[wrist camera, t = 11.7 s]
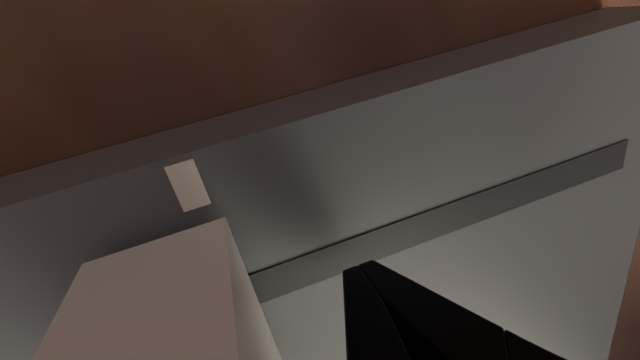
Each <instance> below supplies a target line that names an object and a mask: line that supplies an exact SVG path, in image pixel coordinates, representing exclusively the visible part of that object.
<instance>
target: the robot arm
mask: <svg viewBox="0 0 640 360" xmlns="http://www.w3.org/2000/svg"><path fill="white" fill-rule="evenodd" d="M342 276H343V297H344V318H345V339H346V360H567V359H565V358H563V357H560V356H558V355H556V354H554V353H552V352H550V351H548V350H546V349H544V348H542V347H540V346H538V345H536V344H534V343H532V342H530V341H528V340H526V339H524V338H522V337H520V336H518V335H516V334H514V333H512V332H510V331H508V330H505V331H504V329H503V328H502V327H500V326H499V325H497V324H495V323H493V322H491V321H489V320H487V319H485V318H483V317H481V316H479V315H478V314H476V313H474V312H472V311H470V310H468V309H466V308H464V307H462V306H460V305H458V304H457V303H455V302H453V301H451V300H449V299H447V298H445V297H443V296H441V295H439V294H437V293H436V292H434V291H432V290H430V289H428V288H426V287H424V286H422V285H420V284H418V283H417V282H415V281H413V280H411V279H409V278H407V277H405V276H403V275H401V274H399V273H397V272H396V271H394V270H392V269H390V268H388V267H386V266H384V265H382V264H380V263H378V262H376V261H374V260H370V261H367V262H364V263H361V264H359V265H358V266H353V267H351V268H348V269H345V270H344V271H343V273H342Z"/></svg>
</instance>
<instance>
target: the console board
mask: <svg viewBox="0 0 640 360" xmlns="http://www.w3.org/2000/svg"><path fill="white" fill-rule="evenodd" d="M224 217H226V220H227V222H228V225H229V227H230V230H231V233H232V235H233V238H234V240H235V243H236V245H237V248H238V250H239V253H240V255H241V258H242V260H243V263H244V265H245V268H246V271H247V273H248V276H249V278H250V281H251V283H252V286H253V288H254V291H255V293H256V296H257V298H258V301H259V303H260V306H261V308H262V311H263V314H264V316H265V319H266V321H267V324H268V326H269V329H270V331H271V334H272V336H273V339H274V341H275V344H276V346H277V349H278V352H279V354H280V357H281V359H282V360H346V339H345V318H344V297H343V276H342V273H343V271H344V270H345V269H348V268H351V267H353V266H358V265H359V264H361V263H364V262H367V261H370V260H374V261H376V262H378V263H380V264H382V265H384V266H386V267H388V268H390V269H392V270H394V271H396V272H397V273H399V274H401V275H403V276H405V277H407V278H409V279H411V280H413V281H415V282H417V283H418V284H420V285H422V286H424V287H426V288H428V289H430V290H432V291H434V292H436V293H437V294H439V295H441V296H443V297H445V298H447V299H449V300H451V301H453V302H455V303H457V304H458V305H460V306H462V307H464V308H466V309H468V310H470V311H472V312H474V313H476V314H478V315H479V316H481V317H483V318H485V319H487V320H489V321H491V322H493V323H495V324H497V325H499V326H500V327H502V328H503V329H504V331H505V330H508V331H510V332H512V333H514V334H516V335H518V336H520V337H522V338H524V339H526V340H528V341H530V342H532V343H534V344H536V345H538V346H540V347H542V348H544V349H546V350H548V351H550V352H552V353H554V354H556V355H558V356H560V357H563V358H565V359H567V360H608V356H609V352H610V348H611V343H612V339H613V335H614V331H615V327H616V323H617V319H618V315H619V311H620V307H621V303H622V299H623V294H624V290H625V286H626V282H627V278H628V274H629V270H630V266H631V262H632V258H633V254H634V250H635V245H636V241H637V237H638V233H639V229H640V6H633V7H606V8H601V9H597V10H594V11H590V12H587V13H583V14H580V15H576V16H572V17H569V18H565V19H562V20H558V21H555V22H551V23H548V24H544V25H540V26H537V27H533V28H530V29H526V30H523V31H519V32H515V33H512V34H508V35H505V36H501V37H498V38H494V39H490V40H487V41H483V42H480V43H476V44H473V45H469V46H466V47H462V48H458V49H455V50H451V51H448V52H444V53H441V54H437V55H433V56H430V57H426V58H423V59H419V60H416V61H412V62H409V63H405V64H401V65H398V66H394V67H391V68H387V69H384V70H380V71H376V72H373V73H369V74H366V75H362V76H359V77H355V78H352V79H348V80H344V81H341V82H337V83H334V84H330V85H327V86H323V87H319V88H316V89H312V90H309V91H305V92H302V93H298V94H294V95H291V96H287V97H284V98H280V99H277V100H273V101H270V102H266V103H262V104H259V105H255V106H252V107H248V108H245V109H241V110H237V111H234V112H230V113H227V114H223V115H220V116H216V117H213V118H209V119H205V120H202V121H198V122H195V123H191V124H188V125H184V126H180V127H177V128H173V129H170V130H166V131H163V132H159V133H156V134H152V135H148V136H145V137H141V138H138V139H134V140H131V141H127V142H123V143H120V144H116V145H113V146H109V147H106V148H102V149H98V150H95V151H91V152H88V153H84V154H81V155H77V156H74V157H70V158H66V159H63V160H59V161H56V162H52V163H49V164H45V165H41V166H38V167H34V168H31V169H27V170H24V171H20V172H17V173H13V174H9V175H6V176H2V177H0V360H32V359H33V357H34V355H35V353H36V351H37V349H38V348H39V346H40V344H41V342H42V340H43V338H44V336H45V334H46V332H47V330H48V328H49V326H50V324H51V323H52V321H53V319H54V317H55V315H56V313H57V311H58V309H59V307H60V305H61V303H62V301H63V299H64V298H65V296H66V294H67V292H68V290H69V288H70V286H71V284H72V282H73V280H74V278H75V276H76V274H77V273H78V271H79V269H80V267H81V265H82V264H83V263H86V262H89V261H93V260H96V259H99V258H102V257H105V256H108V255H111V254H114V253H117V252H120V251H123V250H126V249H129V248H132V247H135V246H138V245H141V244H144V243H147V242H150V241H153V240H157V239H160V238H163V237H166V236H169V235H172V234H175V233H178V232H181V231H184V230H187V229H190V228H193V227H196V226H199V225H202V224H205V223H208V222H211V221H214V220H217V219H220V218H224Z"/></svg>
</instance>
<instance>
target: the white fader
mask: <svg viewBox="0 0 640 360" xmlns="http://www.w3.org/2000/svg"><path fill="white" fill-rule="evenodd" d="M32 360H282V359H281V357H280V354H279V352H278V349H277V346H276V344H275V341H274V339H273V336H272V334H271V331H270V329H269V326H268V324H267V321H266V319H265V316H264V314H263V311H262V308H261V306H260V303H259V301H258V298H257V296H256V293H255V291H254V288H253V286H252V283H251V281H250V278H249V276H248V273H247V271H246V268H245V265H244V263H243V260H242V258H241V255H240V253H239V250H238V248H237V245H236V243H235V240H234V238H233V235H232V233H231V230H230V227H229V225H228V222H227V220H226V217H224V218H220V219H217V220H214V221H211V222H208V223H205V224H202V225H199V226H196V227H193V228H190V229H187V230H184V231H181V232H178V233H175V234H172V235H169V236H166V237H163V238H160V239H157V240H153V241H150V242H147V243H144V244H141V245H138V246H135V247H132V248H129V249H126V250H123V251H120V252H117V253H114V254H111V255H108V256H105V257H102V258H99V259H96V260H93V261H89V262H86V263H83V264H82V265H81V267H80V269H79V271H78V273H77V274H76V276H75V278H74V280H73V282H72V284H71V286H70V288H69V290H68V292H67V294H66V296H65V298H64V299H63V301H62V303H61V305H60V307H59V309H58V311H57V313H56V315H55V317H54V319H53V321H52V323H51V324H50V326H49V328H48V330H47V332H46V334H45V336H44V338H43V340H42V342H41V344H40V346H39V348H38V349H37V351H36V353H35V355H34V357H33V359H32Z"/></svg>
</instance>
